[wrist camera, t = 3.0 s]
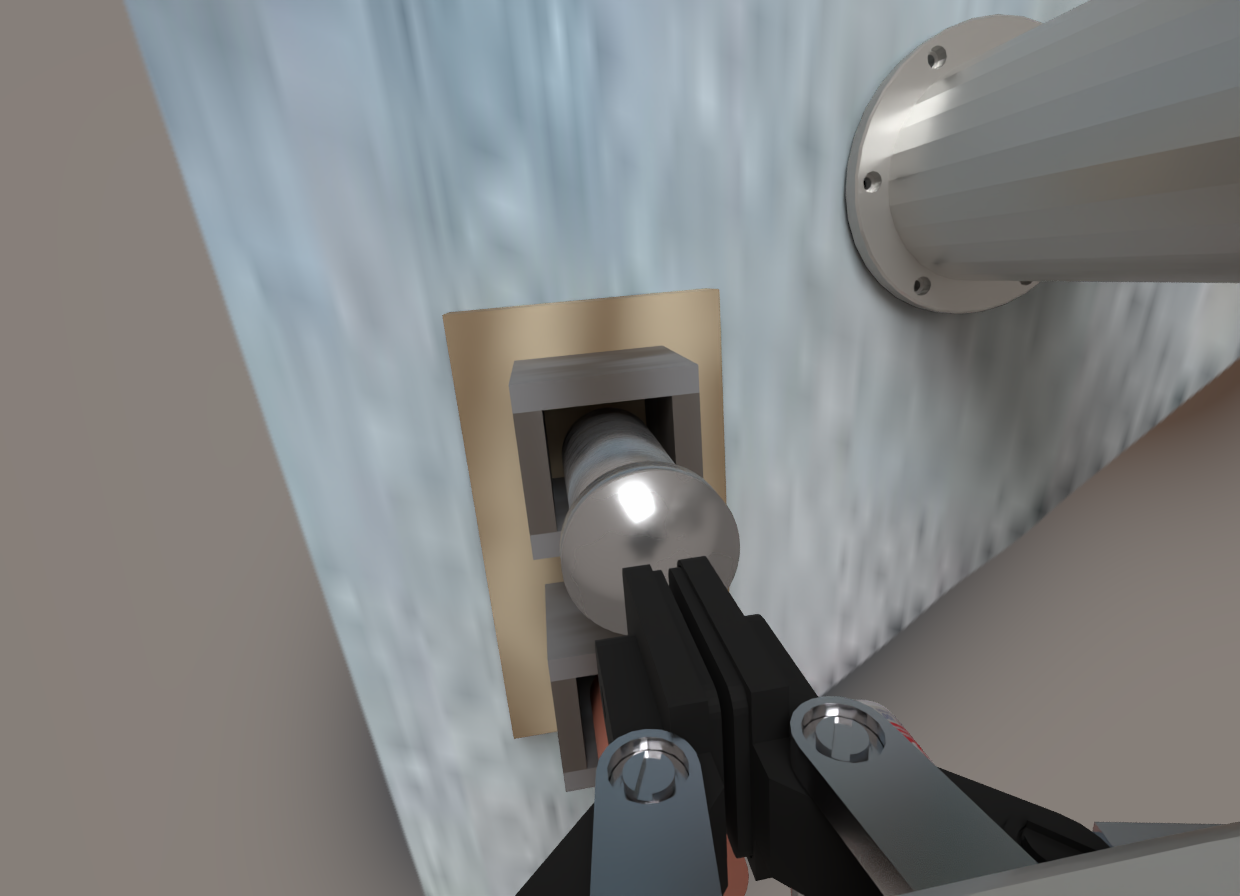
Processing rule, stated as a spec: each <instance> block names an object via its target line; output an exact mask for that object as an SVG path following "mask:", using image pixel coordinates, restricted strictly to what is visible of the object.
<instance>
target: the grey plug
mask: <svg viewBox="0 0 1240 896" xmlns="http://www.w3.org/2000/svg"><path fill="white" fill-rule="evenodd" d="M562 464H563V470H564V477H565V483H566V490H567V497H568V503H569V511H568V513H567V515H566V517H565V520H564V523H563V526H562V530H561V535H560V559H561V569H562V575H563V580H564V583H565V586H566V589H567V591H568V593H569V595H570V597H571V599H572V601H573V602H574V603H575V605H576V606H577V607H578V609H579V610H580V611H581V612H582V613H583V614H584V615H585V616H586V617H588V618H589V619H590V620H592V621H593V622H594V623H596V624H598V625H599V626H601V627H603V628H605V629H607V630H610V631H612V632H615V633H619V634H623V635H628V632H627V621H626V610H625V599H624V589H623V578H622V568H626V567H633V566H640V565H646V564H650V566H651V568H652V570H653V571H655V570H662V572H663V574H664V576H665V578H666V581H667V583H668V585H669V579H668V570H669V568H675V567H677V561H678V560H680V559H687V558H693V557H700V556H706V557H707V559H708V560H709V562H710V563H711V565H712V566H713V568H714V569H715V571H716V573H717V574H718V576H719V577H720V579H721V580H722V582H723V584H724V585H725V587H726V588H727V590H728V588H729V586H730V584H731V582H732V580H733V578H734V576H735V572H736V569H737V566H738V561H739V554H740V541H739V533H738V529H737V525H736V522H735V520H734V517H733V515H732V513H731V511H730V509H729V508H728V506H727V505H726V503H725V502H724V501H723V500H722V498H721V497H720V496H719V495H718V494H717V492H716V491H715V490H714V489H713V488H712V487H711V485H710V484H708V483H707V482H706V481H705V480H704V479H703V478H702V477H700V476H699V475H697V474H696V473H694V472H693V471H691V470H689V469H687V468H685V467H682V466H679V465H676V464H675V463H674V462H673V461H672V459H671V458H670V457H669V455H668V454H667V453H666V451H665V450H664V449H663V447H662V446H661V445H660V443H659V442H658V441H657V439H656V438H655V437H654V435H653V434H652V433H651V431H650V430H649V429H648V427H647V426H646V425H645V424H644V422H643V421H642V420H641V419H640V418H639V417H637V416H636V415H634V414H633V413H631V412H629V411H626V410H623V409H619V408H611V407H609V408H600V409H596V410H593V411H590V412H588V413H586V414H585V415H583V416H581V417H580V418H579V419H578V420H576V421H575V422H574V424H573V425H572V426H571V427H570V429H569V430H568V432H567V434H566V436H565V438H564V441H563V445H562Z"/></svg>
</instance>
